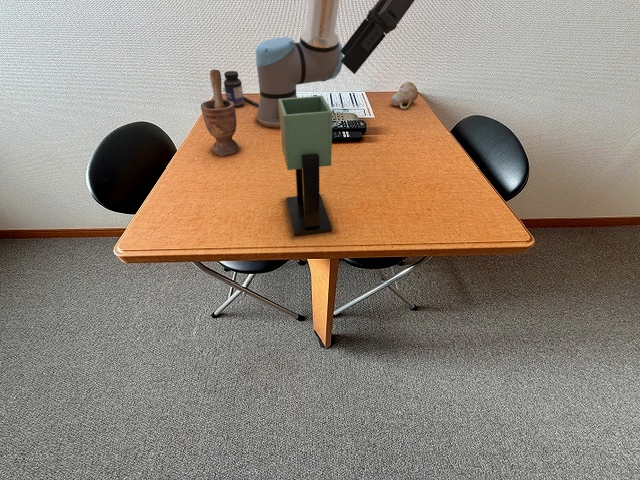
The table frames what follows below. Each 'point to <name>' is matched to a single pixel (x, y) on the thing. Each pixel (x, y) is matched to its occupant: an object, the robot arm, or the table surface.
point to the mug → (405, 95)
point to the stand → (308, 200)
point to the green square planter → (305, 130)
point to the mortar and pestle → (220, 118)
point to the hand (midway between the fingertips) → (346, 61)
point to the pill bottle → (233, 88)
